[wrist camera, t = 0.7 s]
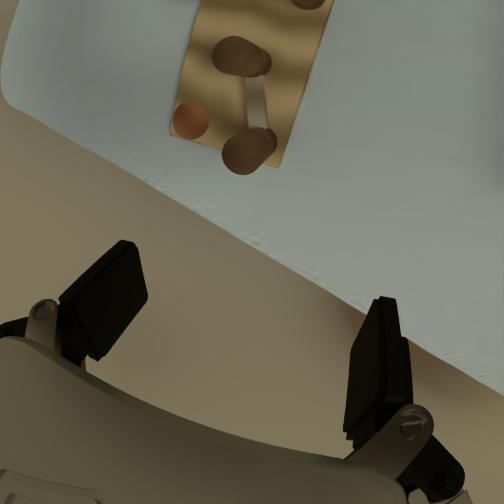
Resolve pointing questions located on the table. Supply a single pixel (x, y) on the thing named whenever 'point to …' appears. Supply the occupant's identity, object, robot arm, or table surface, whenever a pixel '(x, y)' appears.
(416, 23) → the table surface
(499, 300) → the table surface
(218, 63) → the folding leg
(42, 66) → the table surface
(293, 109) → the stool seat
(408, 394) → the robot arm
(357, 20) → the table surface
